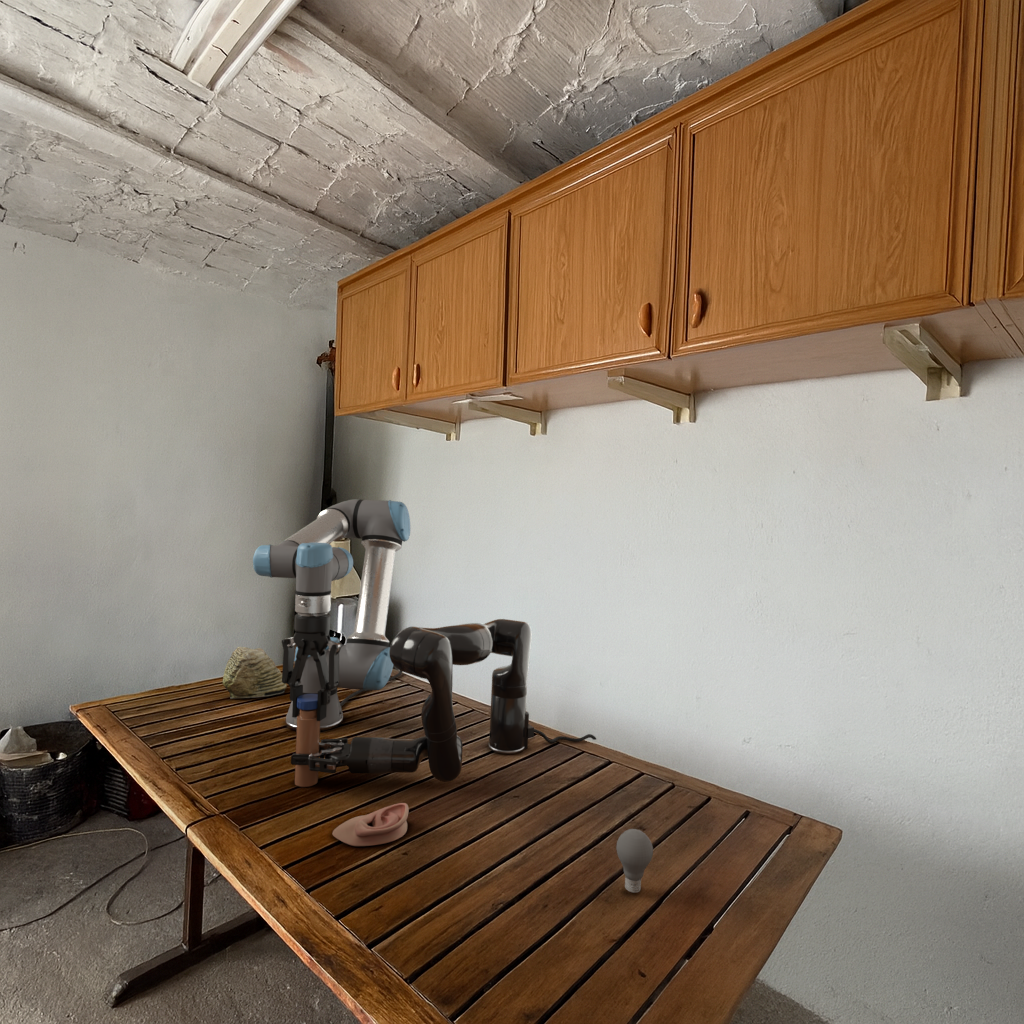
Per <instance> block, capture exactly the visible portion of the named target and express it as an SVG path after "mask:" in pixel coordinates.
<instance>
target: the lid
mask: <svg viewBox="0 0 1024 1024" xmlns="http://www.w3.org/2000/svg"><path fill="white" fill-rule="evenodd" d="M317 700H318V694H305V695H301V696H299V697H298V698H297V708H299V709H302V710H313V709H317Z"/></svg>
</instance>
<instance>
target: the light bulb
mask: <svg viewBox="0 0 1024 1024" xmlns="http://www.w3.org/2000/svg"><path fill="white" fill-rule="evenodd" d="M615 849H616V854H617V857H618V859H619V861H620V863H621V865H622V867H623V873H624V874H623V875H624V876H625V878H624V888H625V890H627V891H628V892H630V893H634V894H635V893H639V892H640V891H641V889H642V887H641V886H642V879H643V877H644V875H645V871H646V868H647V867H648V866H649V864H650V863H651V861H652V859H653V855H654V847H653V843H652V841H651V838H649V836H648V835H647V834H646V833H645V832H643V831H642V830H641V829H636V828H629V829H627V830H625V831H623V832H622V833H621V834H620V835H619V837H618V839H617V841H616V847H615Z"/></svg>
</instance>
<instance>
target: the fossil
mask: <svg viewBox="0 0 1024 1024" xmlns="http://www.w3.org/2000/svg"><path fill="white" fill-rule="evenodd" d="M222 676H223V677H222V685H223V687H224V688H225V690H226V691H228V693H229V698H230V699H250V698H264V697H271V696H275V695H281V694H284V693H285V691H286V689H287V687H288V686H287V685H288V684H286V683H285V684H284V683H282V672H281V669H279V668H278V667H277V665H276V663H275V662H274V660H273V659H272V658H271V657H270V656H269V655H268V654H267V653H266V652H265V650H264V649H263V648H260V647H258V648H251V647H247V646H246V647H245V646H238V647H237V648H236V649H235V650H233V651H232V653H231V656H230V657H229V659H228V660H227V663H226V666H225V668H224V671H223V675H222Z"/></svg>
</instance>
